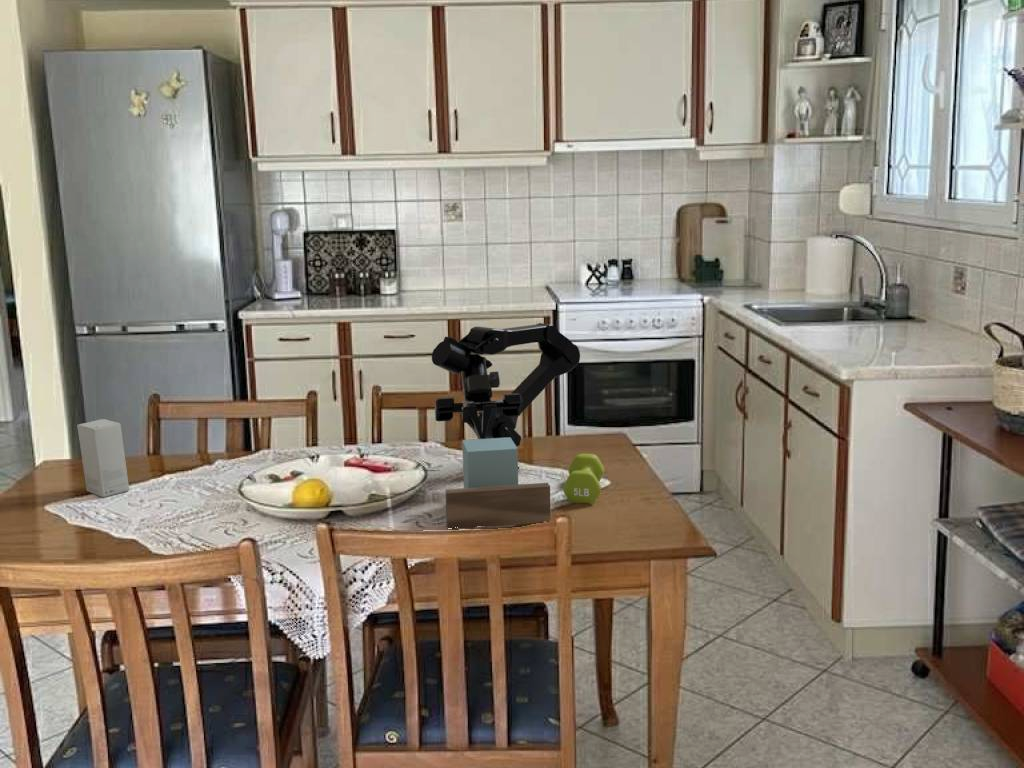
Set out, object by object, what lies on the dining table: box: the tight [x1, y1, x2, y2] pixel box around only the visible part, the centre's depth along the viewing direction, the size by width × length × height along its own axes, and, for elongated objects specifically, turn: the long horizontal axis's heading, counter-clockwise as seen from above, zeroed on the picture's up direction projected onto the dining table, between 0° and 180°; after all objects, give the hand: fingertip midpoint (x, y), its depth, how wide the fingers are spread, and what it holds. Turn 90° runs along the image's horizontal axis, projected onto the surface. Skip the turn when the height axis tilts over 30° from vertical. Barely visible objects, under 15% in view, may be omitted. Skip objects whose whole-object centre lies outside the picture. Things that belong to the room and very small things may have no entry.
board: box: [445, 482, 552, 530], centre depth 191 cm, size 2×20×8 cm, turn 99°
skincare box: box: [76, 418, 130, 498], centre depth 218 cm, size 8×7×16 cm
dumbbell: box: [562, 453, 605, 506], centre depth 210 cm, size 16×8×7 cm, turn 171°
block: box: [461, 437, 519, 488], centre depth 201 cm, size 9×10×13 cm
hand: (482, 441), depth 210 cm, fingers closed
